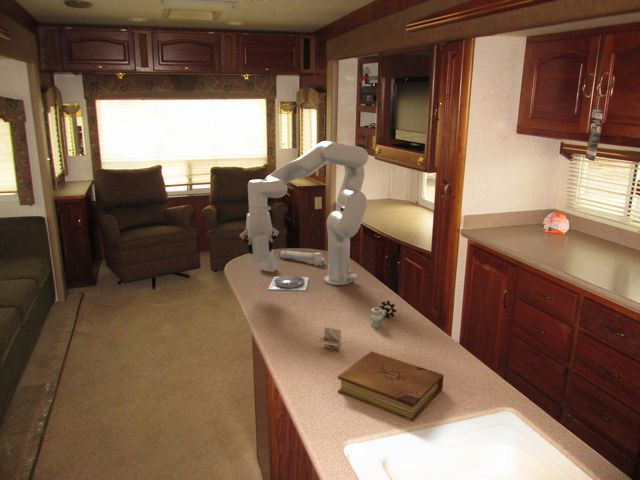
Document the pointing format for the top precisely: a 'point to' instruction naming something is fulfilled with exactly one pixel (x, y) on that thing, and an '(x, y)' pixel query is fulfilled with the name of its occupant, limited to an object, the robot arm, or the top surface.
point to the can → (260, 248)
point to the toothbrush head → (303, 256)
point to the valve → (381, 314)
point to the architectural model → (331, 339)
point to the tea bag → (269, 262)
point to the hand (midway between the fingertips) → (260, 251)
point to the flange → (289, 283)
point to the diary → (391, 385)
